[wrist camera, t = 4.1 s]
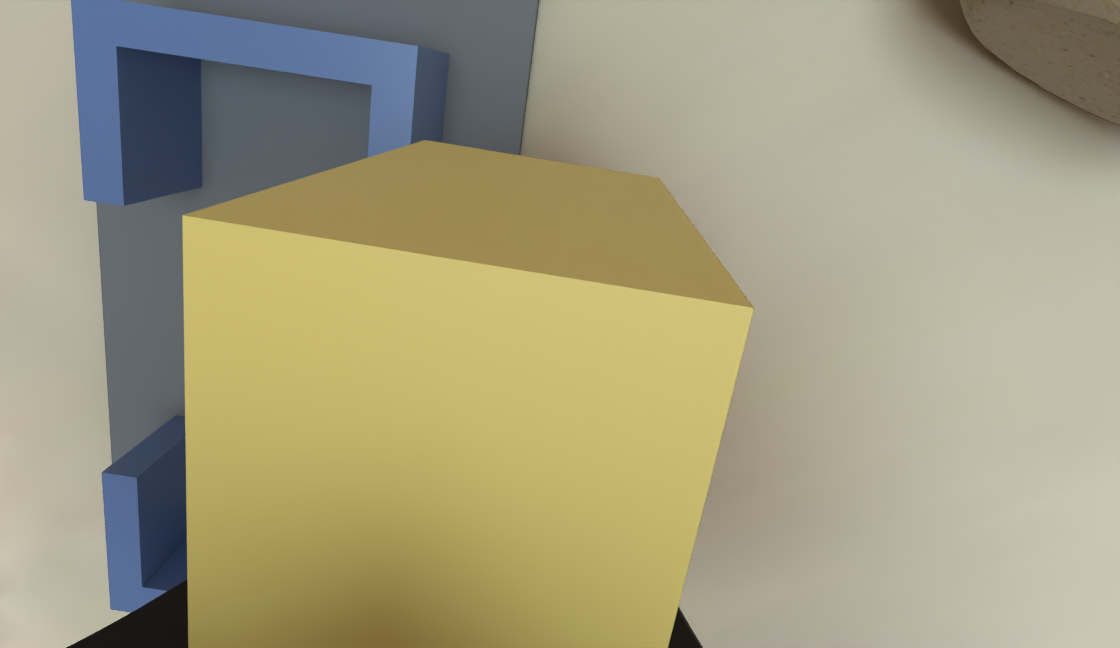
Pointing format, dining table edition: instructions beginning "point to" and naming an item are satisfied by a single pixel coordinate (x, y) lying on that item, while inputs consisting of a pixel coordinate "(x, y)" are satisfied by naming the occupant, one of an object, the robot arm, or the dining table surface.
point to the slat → (450, 405)
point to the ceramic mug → (1057, 46)
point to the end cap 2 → (175, 89)
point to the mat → (286, 161)
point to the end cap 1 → (147, 518)
